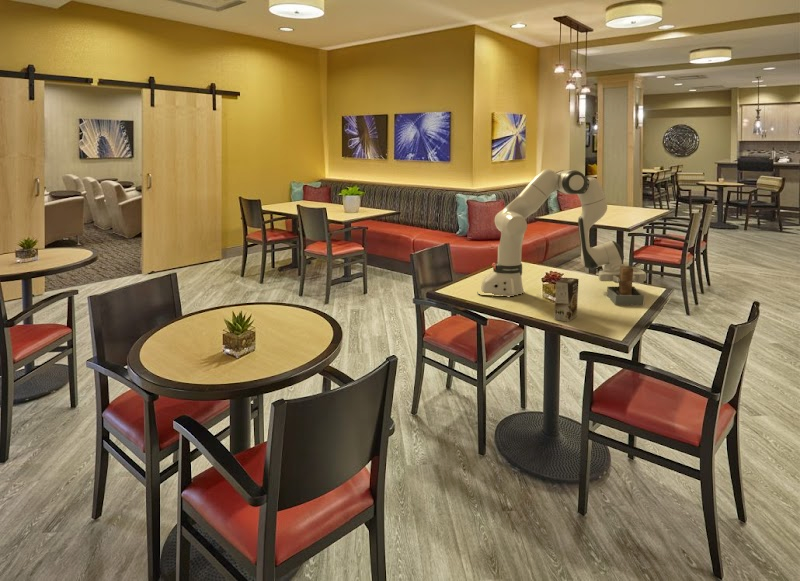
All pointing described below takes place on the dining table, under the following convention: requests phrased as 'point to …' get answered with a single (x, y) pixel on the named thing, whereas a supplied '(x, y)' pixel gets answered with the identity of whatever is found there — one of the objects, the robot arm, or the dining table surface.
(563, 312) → the coffee box
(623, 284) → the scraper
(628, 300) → the tray
